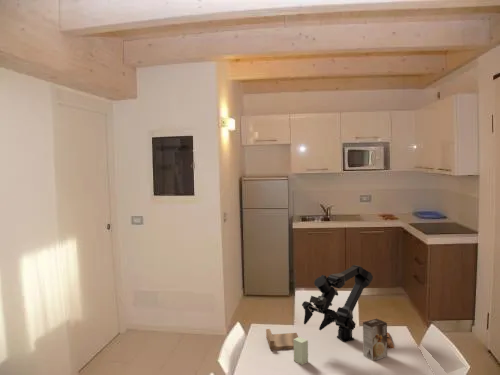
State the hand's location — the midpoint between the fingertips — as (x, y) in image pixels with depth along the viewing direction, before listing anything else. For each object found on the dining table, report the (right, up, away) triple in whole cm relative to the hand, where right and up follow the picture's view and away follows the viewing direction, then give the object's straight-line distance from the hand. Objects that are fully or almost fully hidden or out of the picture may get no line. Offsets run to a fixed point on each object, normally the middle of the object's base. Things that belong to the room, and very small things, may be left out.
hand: (311, 326), depth 181 cm
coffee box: (+29, -13, -1) cm, 32 cm away
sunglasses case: (+39, -13, +15) cm, 43 cm away
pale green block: (-6, -14, -5) cm, 16 cm away
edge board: (-12, -13, +14) cm, 23 cm away
